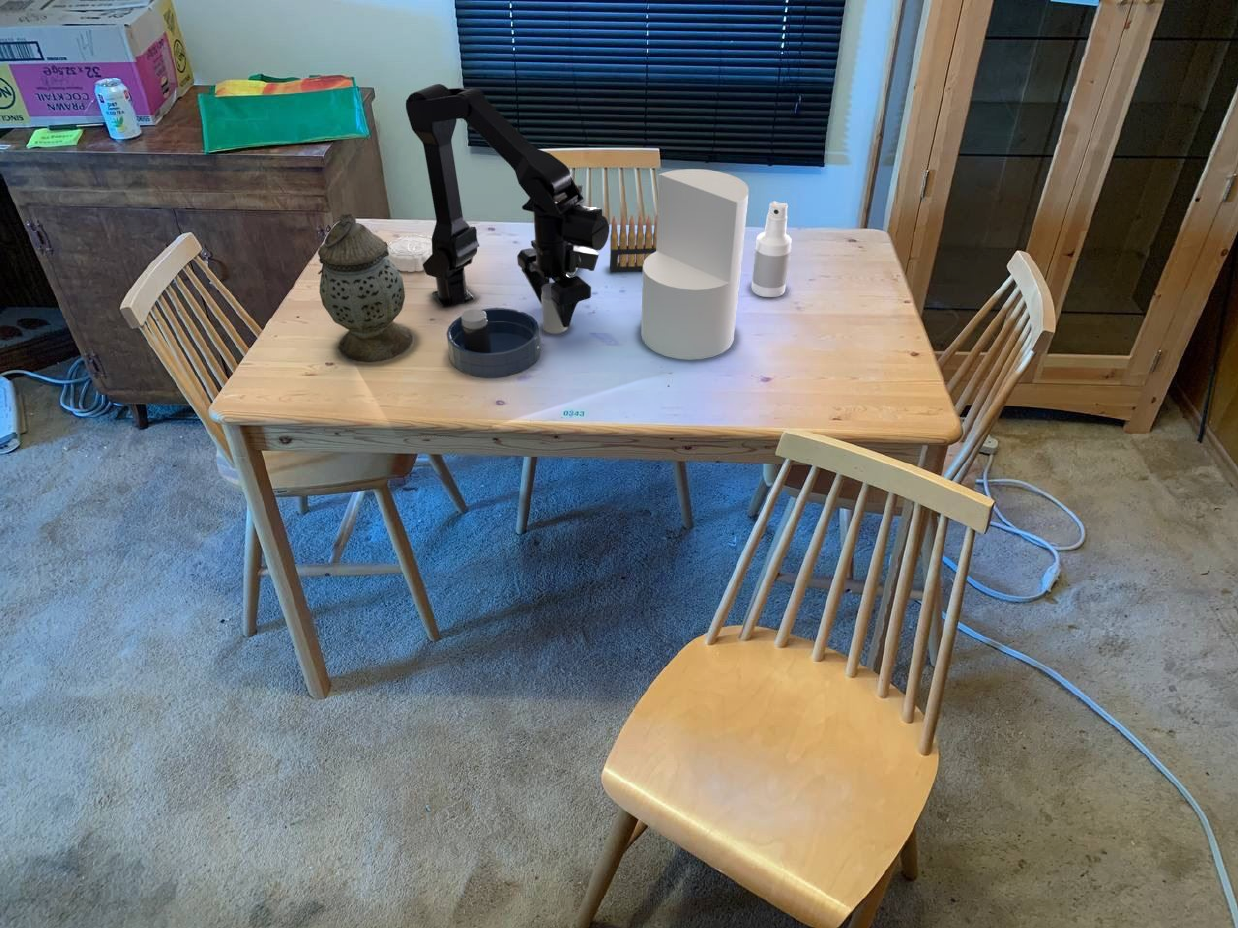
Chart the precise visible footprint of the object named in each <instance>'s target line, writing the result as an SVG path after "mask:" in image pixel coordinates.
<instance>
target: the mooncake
mask: <svg viewBox="0 0 1238 928" xmlns="http://www.w3.org/2000/svg"><path fill="white" fill-rule="evenodd" d="M387 245H388V247H387V248H388V252H389V255H388V256H386V258H387V259H388V260H389V261H390V262H391V263H393V264H394V265H395V266H396V268H397V270H398V271H400V272H409V273H413V272H422V271H425V270H424V268H423V263H424V262H425V261H426V260H427V259H428V258H429V257H430V256H431V255H432V236H429V235H426V234H424V235H420V234H410V235H403V236H401V237H399V238H395V239H393V240H391V241H390V242H388V243H387Z"/></svg>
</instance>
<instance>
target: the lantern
mask: <svg viewBox="0 0 1238 928" xmlns="http://www.w3.org/2000/svg"><path fill="white" fill-rule="evenodd" d="M323 242H324V243H323V244H321V246H320V247H318V248H319V249H318V250H317V255H318V257H319V259H318V260H319V263H320V264H322V266H321V269H320V270H319V271H318V273H317V274H318V275H320V281H319V295H320V300H321V303H322V306H323V307H324V309H325V311H326V313H328V315H329V317H330V318H331V320H332V321H333V322H334V323H335V324H337V325H339V326H341V327H343V328H345V329H346V330H348V331H347V332H346V334H345V335H343V337H342V338H341V340H340V341H339V343H338V347H337V349H338V350H339V352H340V354H341V356H342V358H345V359H346V360H347V361H350V362H353V361H355V362H359V363H379V362H385V361H389V360H392V359H395V358H397V357H399V356H401V355H404V354H405V353H407V352H408V351H409V350H410V349H411V348H412V346H413V345H414V343H415V335H414V333H412V331H411V330H410V329H408V328H407V327H405V326H403V325H401V324H399V323H398V322H397V323H396V321H394V320H395V319H396V318H397V317H398V316H399V315H400V314H401V312H402V310H403V307H404V303H405V297H406V292H405V291H406V290H405V286H404V280H403V276H402V275H401V273H400V272H399V271H400V270H397V268H396V266H395V265H394V264H393V263H391V262H390V261H389V260H388V259H387V258H386V256H388V255H389V252H388V248H387V247H388V243H387V242H386V241H384V239H383V238H381V237H380V236H379V235H377V234H375V233H374V232H372V231H371V230H370V229H369V228H368V227H366V226H365V225H364V224H363V223H359V222H357V219H356V216H355V215H354V214H353V213H352V212H350V211H349V212H348V211H346V212H343V213H342V214H341V215H340V217H339V221H338V222H337V223H335V225H333V226H332V228H331V229H330V231H328V233H327V234H326V237H325V239H324V241H323Z"/></svg>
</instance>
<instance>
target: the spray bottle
mask: <svg viewBox="0 0 1238 928" xmlns="http://www.w3.org/2000/svg"><path fill="white" fill-rule="evenodd" d="M788 206H789V204H788V203H787V202H784V203H783V202H778V201H775V200H773V201H771V202H769V206H768V207H769V208H768V213H767V214H766V222H765V227H764V232H760V234H758V235H757V237H756V242H755V250H754V251H755V253H754V260H753V267H752V268H753V269H752V276H751V277H752V278H751V286H750V287H751V291H752V292H753V293H754V294H755V295H757V296H759V297H763V298H776V297H780V296H782V295H783V294H784V293H785V291H786V286H787V280H788V271H789V265H790V257H791V251H792V244H793V243H792V242H793V239H792V237H791V236H790V235H789V234H787V223H788Z"/></svg>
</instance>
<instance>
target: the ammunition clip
mask: <svg viewBox="0 0 1238 928" xmlns="http://www.w3.org/2000/svg"><path fill="white" fill-rule="evenodd" d="M646 217H647V218H646V222H645V232H644V220H643V216H642V215H641V214H640V215H639V216H638V219H637V227H636V225H635V218H634V216H633V215H630V218H629V221H628V222H629V223H628V232H627V221H626V218H625V216H624V215H622V216H621V219H620V224H619V229H618V219H617V217H616V216H615V215H614V216H613V217H612V220H611V229H610V236H609V237H610V239H609V240H610V244H609V245H610V247H609V249H610V250H609V251H610V254H609V272H610V273H613V274H614V273H639V272H642V273H643V264H644V260H645V259H646V258H647V257H648V256H649V255H651V254H652V253H654V252H656V244H657V215H656V216H655V220H654V225H653V223H652V218H651V215H650V214H648V215H647V216H646ZM652 225H653V226H652ZM652 227H653V228H652ZM618 230H619V233H618ZM627 233H628V234H627Z"/></svg>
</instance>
